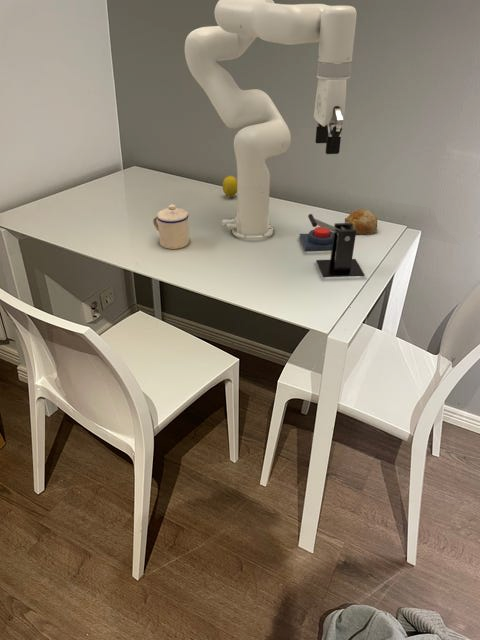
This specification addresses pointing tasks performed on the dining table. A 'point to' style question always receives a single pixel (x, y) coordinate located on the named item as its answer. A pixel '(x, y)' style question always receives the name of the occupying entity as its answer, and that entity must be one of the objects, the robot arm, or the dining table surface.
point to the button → (321, 232)
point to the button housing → (316, 242)
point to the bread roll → (362, 222)
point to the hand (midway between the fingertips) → (326, 148)
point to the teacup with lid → (172, 227)
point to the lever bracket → (341, 255)
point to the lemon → (230, 186)
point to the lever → (324, 224)
